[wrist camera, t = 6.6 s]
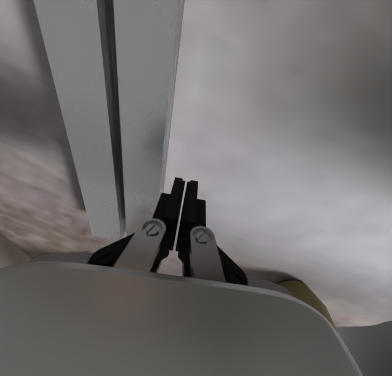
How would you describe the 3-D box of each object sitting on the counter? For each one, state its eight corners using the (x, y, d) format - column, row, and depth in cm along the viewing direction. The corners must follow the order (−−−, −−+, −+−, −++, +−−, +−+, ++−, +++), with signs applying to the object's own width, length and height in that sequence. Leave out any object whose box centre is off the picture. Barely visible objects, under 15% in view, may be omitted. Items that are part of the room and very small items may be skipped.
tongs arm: (133, -86, 8) (104, -159, 5) (191, -67, 8) (188, -128, 6) (135, 220, 19) (127, 240, 16) (159, 224, 19) (154, 244, 17)
